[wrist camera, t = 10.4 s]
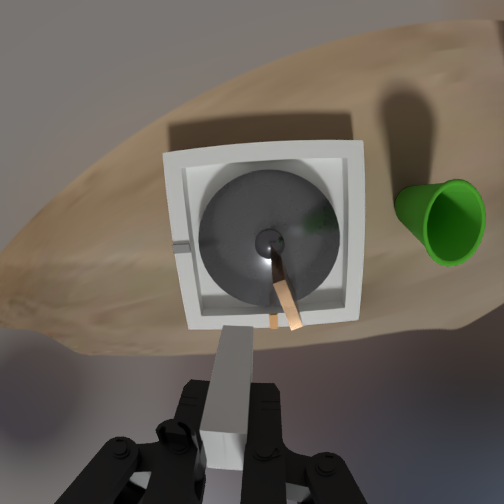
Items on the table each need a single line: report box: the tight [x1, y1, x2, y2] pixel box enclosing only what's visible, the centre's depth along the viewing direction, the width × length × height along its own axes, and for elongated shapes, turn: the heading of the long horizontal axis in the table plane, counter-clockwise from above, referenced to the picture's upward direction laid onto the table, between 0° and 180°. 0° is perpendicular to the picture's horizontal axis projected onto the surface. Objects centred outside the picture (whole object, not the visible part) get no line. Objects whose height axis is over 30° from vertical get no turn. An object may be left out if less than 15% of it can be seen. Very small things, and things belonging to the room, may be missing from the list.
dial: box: [198, 169, 340, 330], centre depth 30 cm, size 16×16×8 cm
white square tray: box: [163, 140, 365, 329], centre depth 34 cm, size 22×22×4 cm
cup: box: [395, 179, 486, 267], centre depth 28 cm, size 9×9×11 cm
